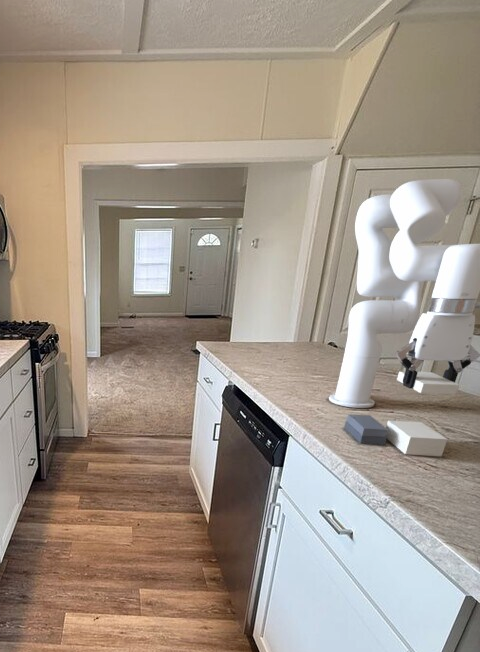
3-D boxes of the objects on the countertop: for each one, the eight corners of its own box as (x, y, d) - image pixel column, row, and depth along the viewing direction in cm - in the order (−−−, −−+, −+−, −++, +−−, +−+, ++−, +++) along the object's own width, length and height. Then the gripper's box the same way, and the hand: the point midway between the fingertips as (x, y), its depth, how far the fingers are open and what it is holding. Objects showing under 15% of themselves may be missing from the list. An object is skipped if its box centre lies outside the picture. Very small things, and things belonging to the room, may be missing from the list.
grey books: (344, 427, 110) (347, 413, 108) (366, 428, 109) (369, 415, 107) (360, 443, 100) (363, 428, 98) (384, 444, 99) (388, 429, 97)
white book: (396, 379, 99) (399, 371, 98) (428, 380, 97) (431, 372, 97) (420, 393, 89) (423, 383, 88) (456, 394, 88) (460, 384, 87)
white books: (383, 436, 104) (387, 420, 102) (416, 438, 102) (421, 422, 101) (405, 454, 94) (410, 437, 92) (441, 456, 92) (447, 439, 91)
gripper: (485, 306, 88) (459, 384, 94) (397, 305, 91) (377, 382, 98) (511, 309, 81) (481, 393, 87) (414, 308, 84) (392, 390, 91)
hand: (426, 386), depth 92 cm, fingers closed on white book, 7 cm apart
